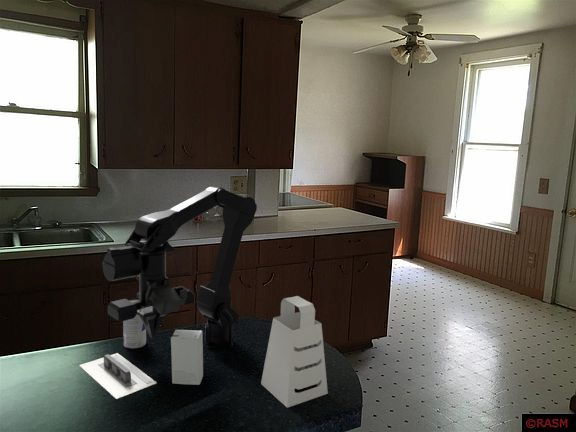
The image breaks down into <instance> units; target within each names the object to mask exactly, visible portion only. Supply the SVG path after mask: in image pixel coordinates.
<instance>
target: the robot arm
mask: <svg viewBox="0 0 576 432" xmlns="http://www.w3.org/2000/svg"><path fill="white" fill-rule="evenodd" d="M257 205H258V204H257V203H256V201H255V199H254V197H252V196H247V195H242V194H237V193H233V192H231V191H229V190H226V189H225V188H224V187H220V186H213V185H212V186H211V185H210V186H209V187H207V188H206V189H205V190H203V191H201V192H199V193H198V194H196V195H194V196H192V197H190V198H188V199H187V200H185V201H183V202H180V203H179V204H177V205H174V206H173V207H171V208H170V209H167V210H161V211H156V212H152V213H148V214H146V215H143V216H141V217H139V218H138V219H137V220H136V223H135V226H134V229H133V231H132V232H131V234H130V235H129V237H128V238H127V240H126V242H125V243H124V246H121V247H108V248H107V249H106V254H105V255H104V257H103V260H102V263H101V264H102V266H101V267H102V272H103V274H104V278H105V279H106V280H107V281H109V282H114V281H119V280H123V279H129V278H136V281H137V282H138V284H139V287H138V288H139V290H138V291H139V292H136V298H137V299H138V300H140V301H136V302H130V299H129V300H128V299H127V298H123V299H122V298H121V299H118V300H117V299H116V300H114V301H110V302H109V303H108V305H107V315H108V316H110V317H112V318H113V319H114V320H116V321H117V322H123V321H126V320H129V319H133V318H134V317H135V316H136V315H139V316H140V318H141V320H142V321H143V323H144V325H145V328H146V333H147V335H148V336H149V338H150V339H152V340H153V339H156V337H157V335H158V332H159V329H160V326H161V325H162V322H163V320H164V318H165V316H166V315H168V314H170V313H176V312H179V310H180V306H181V305H183V306H186V305H190V304H193V303H194V300H195V301H196V302H197V304H196V307H197V310H198V311H199V312H200V313H201V316H202V318H203V319H206V320H207V323H206V324H205V325H204V343H205V344H206V348H207V349H220V348H221V349H224V348H233V345H234V344H233V326H234V325H235V324H237V323H238V321H239V317H240V315H239V313H237V312H236V311H235V310H234V309H233V308H232V299H233V297H232V292H231V287H230V285H231V280H232V277H233V273H234V268H235V264H236V262H237V261H236V260H237V258H238V254H239V250H240V245H241V242H242V239H243V234H244V233H245V231H246V229H247V228H248V227H249V226H250V225H251V224H252V222H253V221H254V217H255V215H256V212H257V210H258V209H257V208H258V206H257ZM215 207H220V208H222V220H223V224H224V229H223V233H222V236H221V239H220V244H219V247H218V252H217V254H216V258H215V262H214V267H213V270H212V275H211V278H210V280H209V281H208V283H207V284H206V285H205V286H204V285H200V287H199V290H198V295H197V298H196V299H195V295H194V292H193V290H191V289H189V288H186V287H185V286H184V285H183V286H181V285H178V286H174V287H171V284H170V277H168V276H167V271H166V270H167V253H171V252H175V250H176V248H175V247H173V246H172V245H171V244H170V243H169V240H170V239H172V238H173V237H174V236H176V234H177V233H178V231H179V230H180V228H181V227H182V226H184V225H186V224H187V223H189V222H191V221H192V220H194V219H196V218H198V217H200V216H201V215H203V214H205V213H206V212H208V211H210V210H212V209H213V208H215ZM141 241H144V242H145V243H144V242H141Z"/></svg>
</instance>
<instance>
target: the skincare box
mask: <svg viewBox="0 0 576 432" xmlns="http://www.w3.org/2000/svg"><path fill="white" fill-rule="evenodd" d="M170 346H171V349H170V352H171V353H170V355H171V383H172V384H174V385H175V384H177V385H195V386H196V385H197V386H199V385H201V382H202V380H203V377H204V354H203V353H204V349H203V330H194V329H193V330H192V329H191V330H190V329H175V330H174V332H173V334H172V335H171V337H170Z"/></svg>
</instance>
